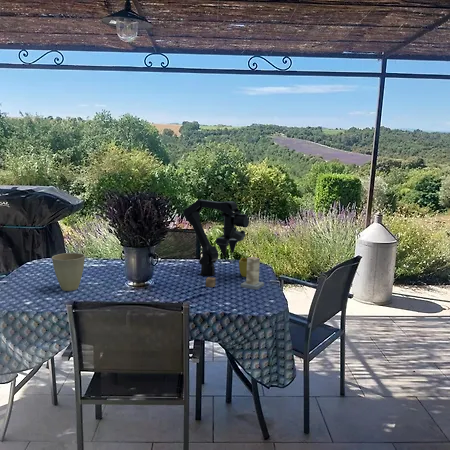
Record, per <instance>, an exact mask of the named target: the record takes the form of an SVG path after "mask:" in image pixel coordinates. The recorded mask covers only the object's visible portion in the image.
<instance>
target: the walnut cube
mask: <svg viewBox="0 0 450 450" xmlns="http://www.w3.org/2000/svg"><path fill="white" fill-rule="evenodd" d="M216 280H217V279H216V277H211V276H207V277H206V279H205V287H206V288H213V287H214V288H215V287H216V284H217V283H216Z"/></svg>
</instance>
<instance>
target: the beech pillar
mask: <svg viewBox="0 0 450 450" xmlns="http://www.w3.org/2000/svg"><path fill="white" fill-rule="evenodd" d="M246 258H247V277H245V278H246V279H245V281H246V283H247V284H251V285H255V284H258V283H259V282H260V263H261V260H260V259H261V258H259V257H256V256H250V257H246Z"/></svg>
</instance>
